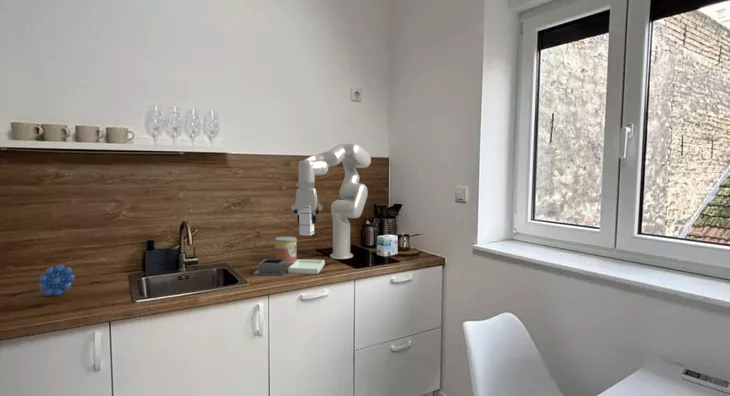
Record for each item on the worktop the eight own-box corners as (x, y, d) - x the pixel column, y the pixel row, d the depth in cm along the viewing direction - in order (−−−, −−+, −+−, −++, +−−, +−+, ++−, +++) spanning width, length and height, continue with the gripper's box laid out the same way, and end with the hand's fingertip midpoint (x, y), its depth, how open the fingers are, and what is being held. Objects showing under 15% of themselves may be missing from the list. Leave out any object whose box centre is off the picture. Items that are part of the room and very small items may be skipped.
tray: (297, 264, 210) (297, 259, 210) (324, 264, 209) (324, 259, 209) (288, 273, 192) (288, 268, 192) (317, 274, 191) (317, 268, 191)
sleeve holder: (263, 267, 202) (263, 257, 202) (291, 268, 201) (290, 258, 201) (253, 275, 189) (252, 264, 188) (283, 276, 187) (282, 265, 187)
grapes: (78, 290, 164) (77, 260, 163) (74, 295, 158) (72, 264, 157) (42, 293, 160) (41, 263, 159) (36, 299, 154) (35, 267, 153)
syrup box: (310, 235, 196) (310, 205, 195) (299, 235, 197) (298, 205, 196) (314, 233, 202) (314, 204, 200) (303, 233, 203) (302, 204, 202)
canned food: (286, 264, 210) (286, 241, 209) (270, 261, 216) (270, 238, 215) (301, 260, 220) (301, 237, 219) (285, 257, 226) (285, 235, 225)
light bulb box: (384, 256, 228) (384, 237, 227) (376, 254, 233) (376, 236, 233) (398, 254, 235) (398, 235, 234) (389, 252, 240) (389, 234, 240)
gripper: (286, 186, 194) (287, 224, 196) (323, 186, 193) (323, 224, 194) (291, 185, 202) (291, 222, 203) (325, 186, 200) (325, 222, 202)
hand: (306, 223), depth 199 cm, fingers closed on syrup box, 6 cm apart
